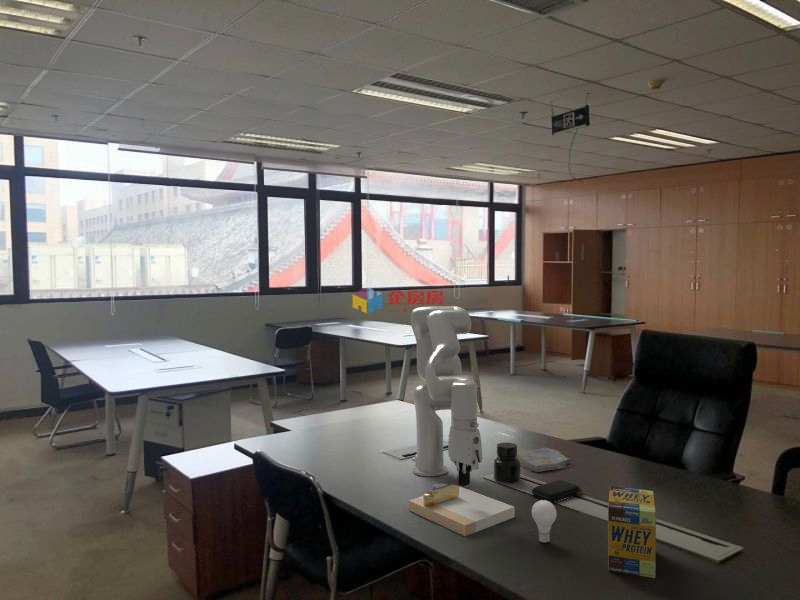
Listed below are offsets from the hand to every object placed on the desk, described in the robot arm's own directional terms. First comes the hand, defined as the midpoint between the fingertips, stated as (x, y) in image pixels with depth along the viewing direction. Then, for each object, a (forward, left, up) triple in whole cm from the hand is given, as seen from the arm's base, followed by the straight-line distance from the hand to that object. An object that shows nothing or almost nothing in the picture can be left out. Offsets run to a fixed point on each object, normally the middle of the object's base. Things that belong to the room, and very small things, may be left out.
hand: (464, 484), depth 175 cm
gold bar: (-6, -4, -5) cm, 9 cm away
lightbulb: (+27, +3, -9) cm, 28 cm away
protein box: (+47, +11, -9) cm, 49 cm away
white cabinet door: (-1, -1, -9) cm, 9 cm away
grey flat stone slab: (-16, +57, -10) cm, 60 cm away
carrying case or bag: (+8, +34, -9) cm, 36 cm away
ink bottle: (-12, +33, -9) cm, 36 cm away
